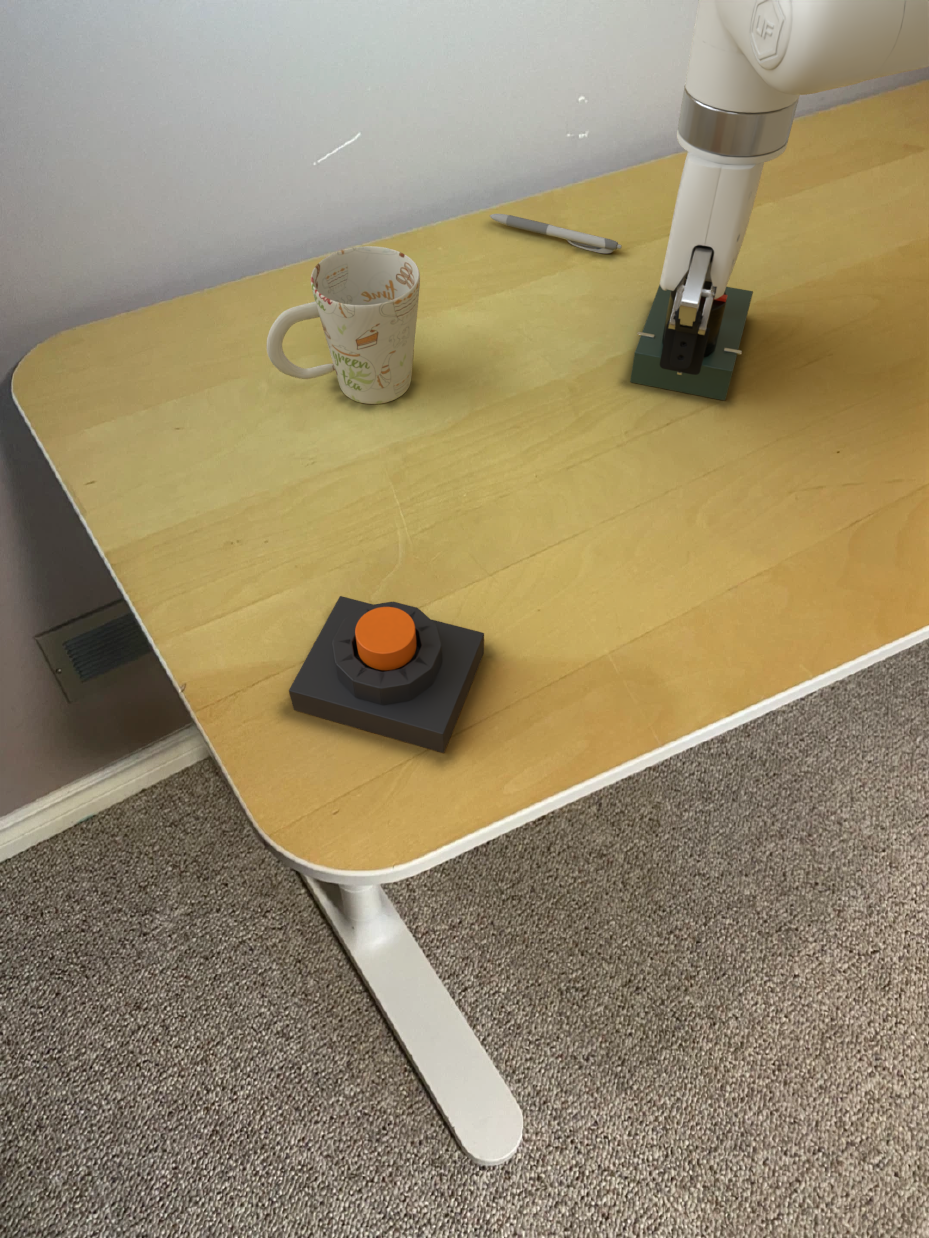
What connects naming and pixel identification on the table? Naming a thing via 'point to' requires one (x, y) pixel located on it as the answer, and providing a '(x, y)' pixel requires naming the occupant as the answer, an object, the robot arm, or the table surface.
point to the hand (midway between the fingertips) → (690, 336)
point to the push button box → (390, 678)
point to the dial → (714, 317)
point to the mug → (359, 322)
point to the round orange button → (386, 638)
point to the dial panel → (714, 366)
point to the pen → (560, 233)
